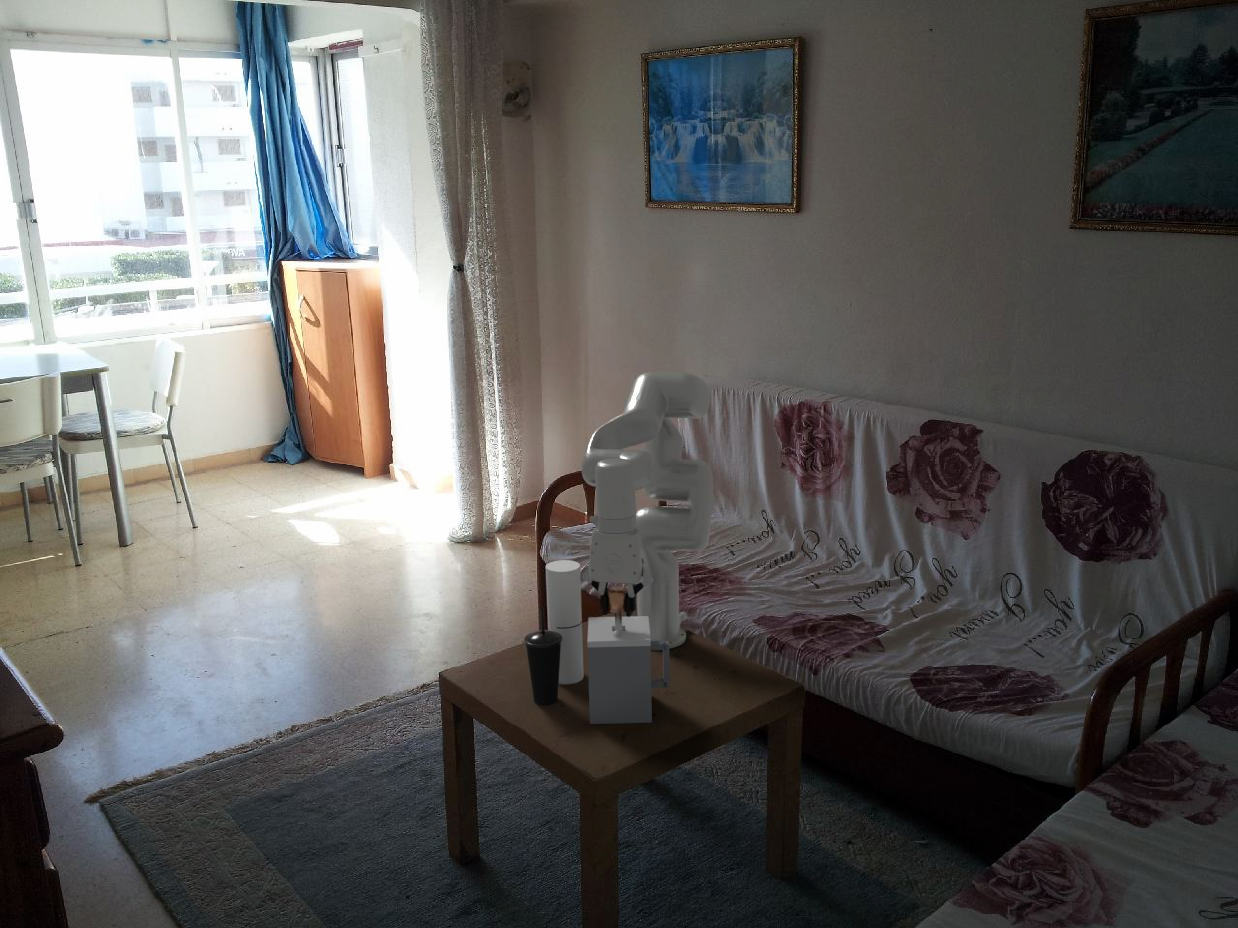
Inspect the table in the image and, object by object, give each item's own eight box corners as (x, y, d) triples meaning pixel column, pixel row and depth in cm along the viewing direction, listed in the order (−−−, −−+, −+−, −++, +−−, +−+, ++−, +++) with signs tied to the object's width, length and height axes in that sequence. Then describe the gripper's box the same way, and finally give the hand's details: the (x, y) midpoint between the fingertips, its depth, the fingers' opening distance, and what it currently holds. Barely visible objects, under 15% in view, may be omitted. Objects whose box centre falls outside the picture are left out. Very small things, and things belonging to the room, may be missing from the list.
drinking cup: (538, 712, 212) (533, 618, 207) (520, 698, 218) (516, 606, 213) (571, 702, 216) (568, 609, 211) (553, 688, 222) (549, 598, 217)
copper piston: (597, 710, 208) (594, 598, 202) (597, 689, 216) (594, 582, 211) (643, 709, 208) (641, 597, 202) (642, 688, 217) (640, 581, 211)
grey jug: (589, 723, 207) (587, 641, 203) (590, 695, 218) (588, 617, 214) (671, 721, 207) (670, 639, 203) (668, 693, 218) (667, 615, 214)
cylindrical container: (579, 685, 223) (575, 572, 217) (546, 682, 225) (541, 570, 219) (587, 670, 230) (583, 560, 224) (554, 668, 231) (550, 559, 225)
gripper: (568, 526, 202) (571, 617, 206) (654, 531, 198) (656, 624, 202) (579, 515, 209) (582, 603, 213) (663, 520, 205) (664, 609, 209)
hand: (618, 612), depth 208 cm, fingers closed on copper piston, 4 cm apart
